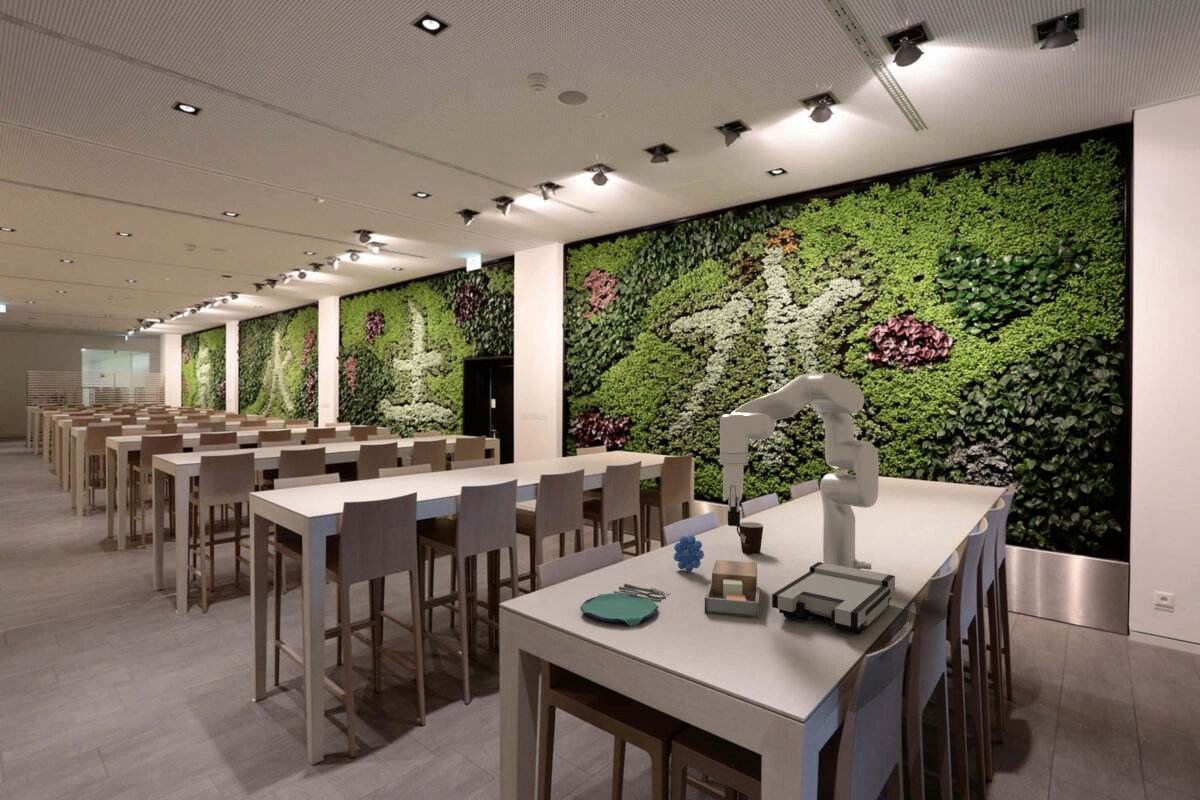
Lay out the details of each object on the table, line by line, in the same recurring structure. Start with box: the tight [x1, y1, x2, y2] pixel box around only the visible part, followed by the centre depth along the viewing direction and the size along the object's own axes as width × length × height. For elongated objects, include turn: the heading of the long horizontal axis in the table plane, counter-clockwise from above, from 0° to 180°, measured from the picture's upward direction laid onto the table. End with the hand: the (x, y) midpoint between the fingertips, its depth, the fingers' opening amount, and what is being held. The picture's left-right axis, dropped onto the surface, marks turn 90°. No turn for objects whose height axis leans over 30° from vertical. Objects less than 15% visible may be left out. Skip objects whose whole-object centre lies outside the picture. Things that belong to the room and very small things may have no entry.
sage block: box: [723, 579, 742, 599], centre depth 166 cm, size 5×5×4 cm
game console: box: [771, 561, 896, 635], centre depth 159 cm, size 21×32×8 cm, turn 140°
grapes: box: [673, 534, 705, 573], centre depth 195 cm, size 12×7×12 cm, turn 45°
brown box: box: [711, 559, 758, 599], centre depth 175 cm, size 12×14×7 cm
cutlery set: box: [579, 583, 669, 627], centre depth 164 cm, size 20×30×2 cm, turn 151°
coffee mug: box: [736, 521, 764, 555], centre depth 219 cm, size 12×9×10 cm
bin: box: [704, 583, 760, 619], centre depth 162 cm, size 14×12×4 cm
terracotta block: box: [726, 594, 746, 601], centre depth 160 cm, size 5×5×2 cm
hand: (734, 525), depth 167 cm, fingers closed
